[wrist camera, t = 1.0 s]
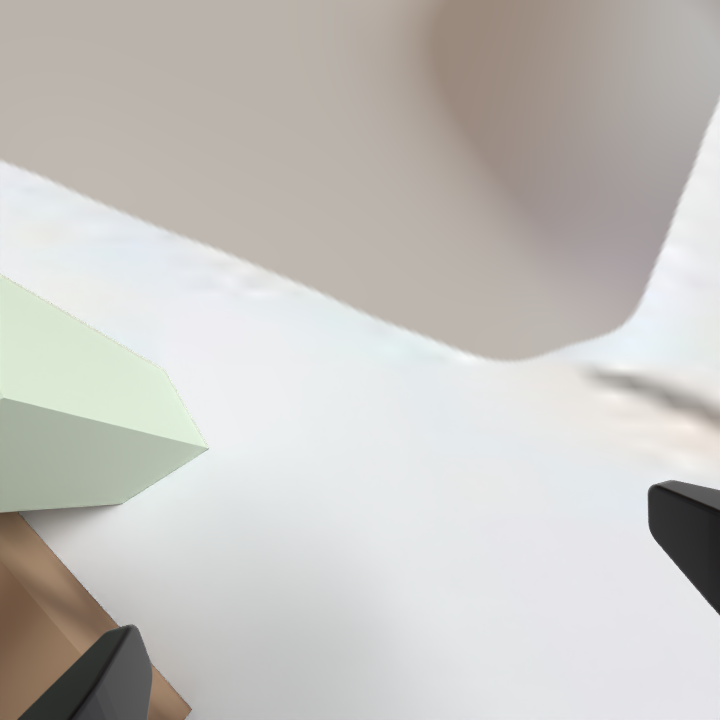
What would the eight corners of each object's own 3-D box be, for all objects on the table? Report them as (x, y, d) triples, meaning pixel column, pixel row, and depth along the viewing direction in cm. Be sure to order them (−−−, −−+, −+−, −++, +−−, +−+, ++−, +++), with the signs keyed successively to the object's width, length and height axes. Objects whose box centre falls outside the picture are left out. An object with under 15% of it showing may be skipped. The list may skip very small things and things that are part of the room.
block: (209, 448, 22) (3, 397, 9) (121, 503, 21) (-222, 528, 9) (165, 370, 23) (-75, 229, 10) (80, 420, 22) (-283, 336, 10)
